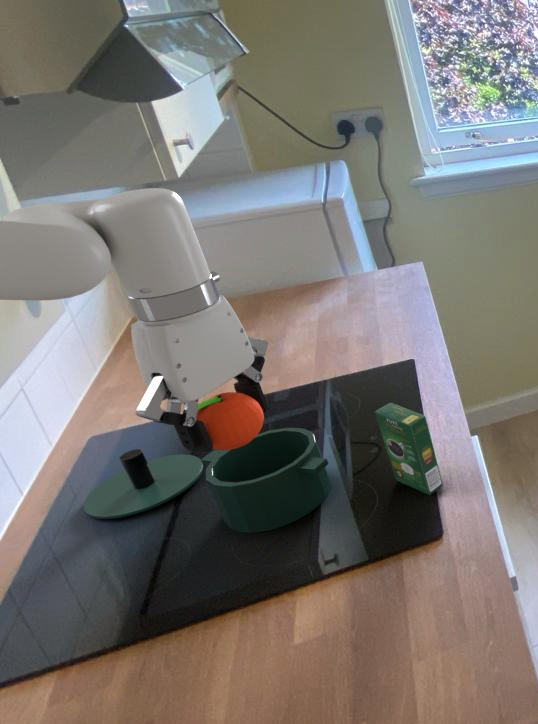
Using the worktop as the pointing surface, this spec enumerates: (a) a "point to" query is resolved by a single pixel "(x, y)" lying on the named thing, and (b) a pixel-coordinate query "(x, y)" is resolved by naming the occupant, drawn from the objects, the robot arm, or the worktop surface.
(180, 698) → the worktop surface
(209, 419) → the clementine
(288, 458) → the pot
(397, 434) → the coffee box
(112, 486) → the lid
